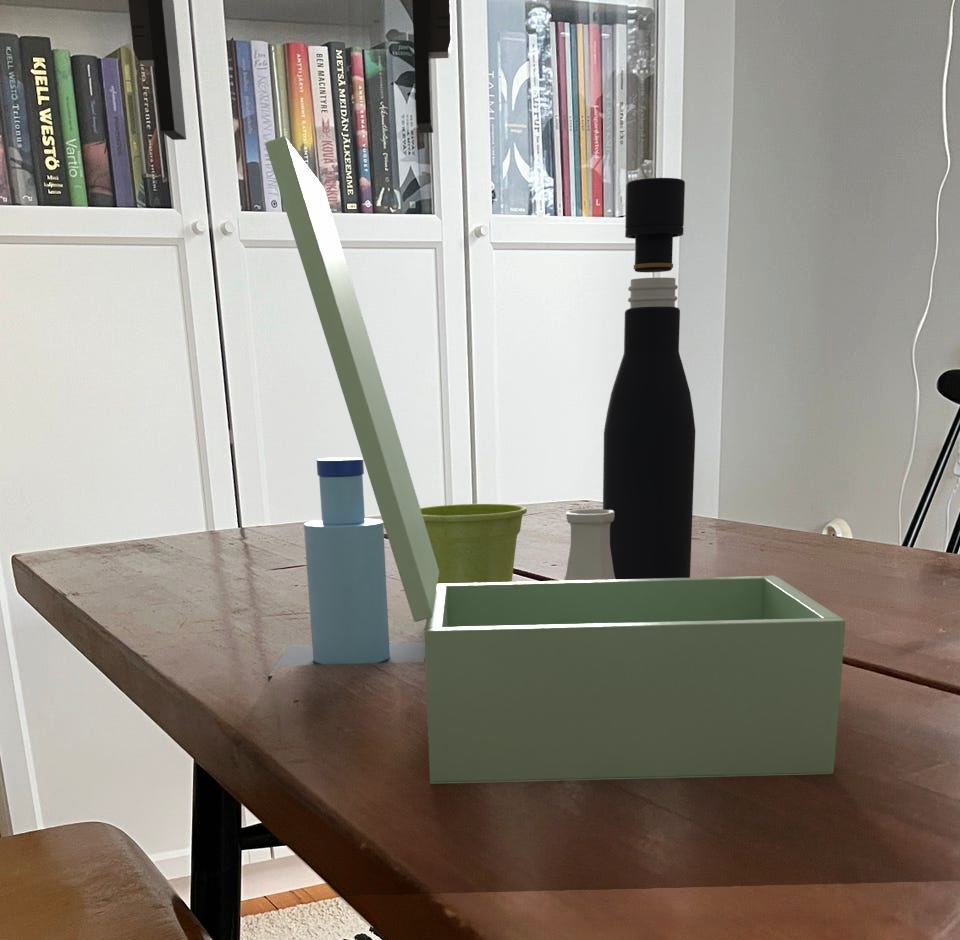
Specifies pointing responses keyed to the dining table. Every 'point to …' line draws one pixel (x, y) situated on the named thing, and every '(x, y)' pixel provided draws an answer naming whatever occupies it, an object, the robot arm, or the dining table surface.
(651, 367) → the black bottle
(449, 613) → the cool chest
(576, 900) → the dining table surface
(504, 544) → the plant pot
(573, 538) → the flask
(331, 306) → the lid
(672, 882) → the dining table surface
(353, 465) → the water bottle
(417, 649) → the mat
